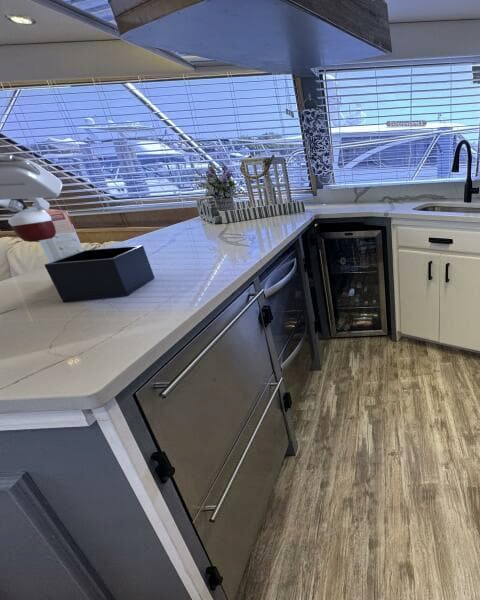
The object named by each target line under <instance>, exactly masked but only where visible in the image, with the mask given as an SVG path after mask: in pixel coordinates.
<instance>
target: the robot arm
mask: <svg viewBox="0 0 480 600" xmlns="http://www.w3.org/2000/svg"><path fill="white" fill-rule="evenodd" d="M62 188H63V182H62V180H60V179H59V178H58V177H56V175H54V174H53V173H51V172H49V171H48V170H46V169H45V168H44V167H42V166H41V165H39V164H38V163H35V162H34V161H32V160H29V159H27V158H25V157H22V156H21V157H20V156H15V155H13V154H10V153H9V154H7V153H3V154H0V207H3V208H6V209H7V210H9V211H11V212H14V213H15V212H18V211H22V208H23V207H24V206H23V204H21V203H19V202H18V201H17V200H10V199H22V200H23V199H24V200H27V201H31V202H33V203H32V208H37V209H38V210H48V209H50V206H51V204H50V203H49V202H48V201H47V200H45V199H50V198H52V199H53V198H59V196H60V194H61V191H62Z"/></svg>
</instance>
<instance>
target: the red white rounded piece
mask: <svg viewBox="0 0 480 600" xmlns="http://www.w3.org/2000/svg"><path fill="white" fill-rule="evenodd" d="M10 200H17V201H18V202H19V203H21V204H23V206H24V207H23V208H22V211H17V212H16V214H15V215H13V216H11V217H10V218H8V222H7V223H8V224H9V225H10V228H11V229H12V230H13V232H14V233H15V234H16V235H17V236H18V237H19V238H20V239H21V240H23V241H26V242H29V243H33V242H39V241H40V240H46V239H51V238H53V237H54V236H55V234H56V229H55V225H54V223H53V221H52V220H51V217H50V216H49V214H48V213H46V212H45V211H44V210H38V209H37V208H35V207H28V206H27V204H26V202H25V201H24V200H23V199H10Z"/></svg>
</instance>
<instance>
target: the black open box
mask: <svg viewBox="0 0 480 600" xmlns="http://www.w3.org/2000/svg"><path fill="white" fill-rule="evenodd" d="M83 250H84V251H81V252H78V253H76V254H73V255H70V256H67V257H64V258H62V259H59V260H56V261H53V262H50V263H49V262H47V263H44V267H45V269H46V272H47V273H48V276H49V278H50V280H51V282H52V283H53V286H54V288H55V290H56V291H57V293H58V296H59V297H60V299H61V301H62V303H64V304H65V303H71V302H72V303H73V302H82V301H92V300H102V299H103V300H104V299H112V298H121V297H129V296H130V295H131V294H133V293H135V292H136V291H138V290H139V289H141V288H142V287H144V286H145V285H147V284H149V283H150V282H151V281H153V280H154V279H155V277H156V276H155V275H154V272H153V269H152V267H151V264H150V261H149V258H148V255H147V252H146V250H145V247H144V245H133V246H120V247H119V246H118V247H107V248H106V247H105V248H95V249H83Z"/></svg>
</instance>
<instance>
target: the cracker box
mask: <svg viewBox="0 0 480 600" xmlns="http://www.w3.org/2000/svg"><path fill="white" fill-rule="evenodd" d="M44 211H45V212H46V213H48V214H49V216H50V217H51V220H52V221H53V223H54V225H55V229H56V234H55V236H54V237H53V238H51V239H46V240H40V241H38V242H39V244H40V246H41V248H42V250H43V253H44V255H45V257H46V259H47V261H48V263H50V262H53V261H56V260H59V259H62V258H64V257H67V256H70V255H73V254H76V253H78V252H81V251H84V250H85V249H84V247H83V246H82V243H81V241H80V239H79V236H78V234H77V231H76V229H75V227H74V224H73V222H72V220H71V217H70V215H69V212H68V210H62V209H53V208H49V209H48V210H44Z"/></svg>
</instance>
